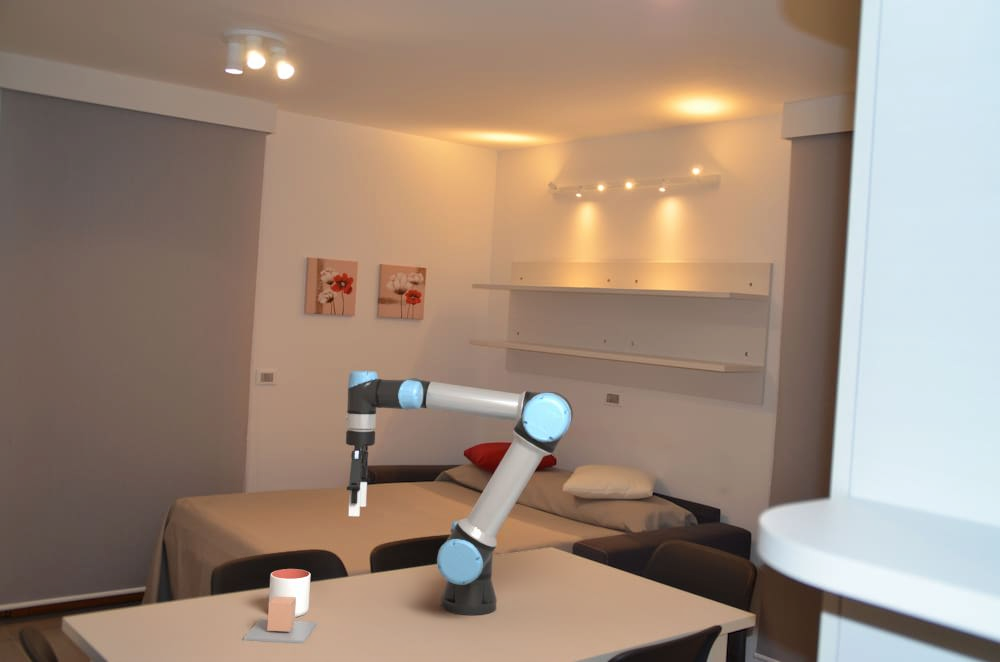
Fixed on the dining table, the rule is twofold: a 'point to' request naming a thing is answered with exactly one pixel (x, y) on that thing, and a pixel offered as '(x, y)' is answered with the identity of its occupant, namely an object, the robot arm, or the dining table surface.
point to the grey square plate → (281, 632)
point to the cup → (291, 587)
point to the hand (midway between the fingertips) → (357, 511)
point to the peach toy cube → (281, 613)
